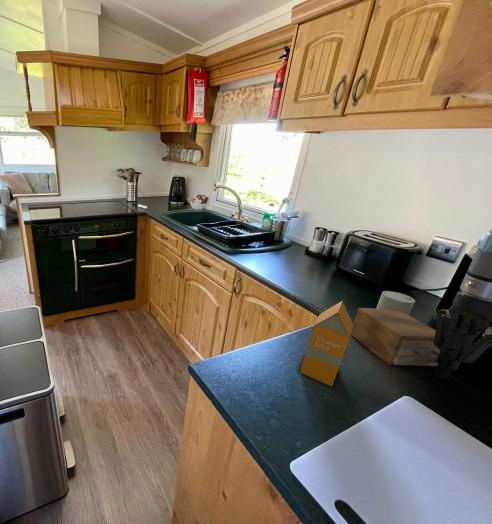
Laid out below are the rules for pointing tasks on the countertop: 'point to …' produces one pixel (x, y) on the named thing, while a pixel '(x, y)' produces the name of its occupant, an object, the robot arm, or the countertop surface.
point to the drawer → (417, 353)
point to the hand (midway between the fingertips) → (440, 376)
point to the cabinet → (387, 330)
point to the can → (396, 301)
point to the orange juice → (327, 344)
